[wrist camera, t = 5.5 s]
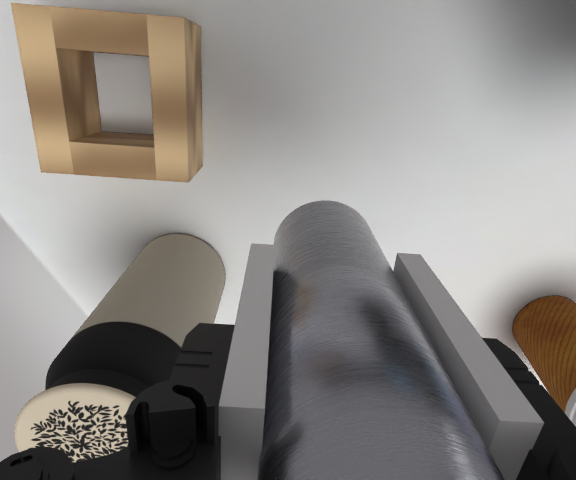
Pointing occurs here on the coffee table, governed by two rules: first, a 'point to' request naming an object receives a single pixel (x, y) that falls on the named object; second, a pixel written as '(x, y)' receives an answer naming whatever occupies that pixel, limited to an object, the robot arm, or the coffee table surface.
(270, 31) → the coffee table surface
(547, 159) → the coffee table surface
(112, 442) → the travel mug
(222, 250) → the coffee table surface
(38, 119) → the square frame
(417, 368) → the metal canister
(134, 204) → the coffee table surface
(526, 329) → the disposable coffee cup
